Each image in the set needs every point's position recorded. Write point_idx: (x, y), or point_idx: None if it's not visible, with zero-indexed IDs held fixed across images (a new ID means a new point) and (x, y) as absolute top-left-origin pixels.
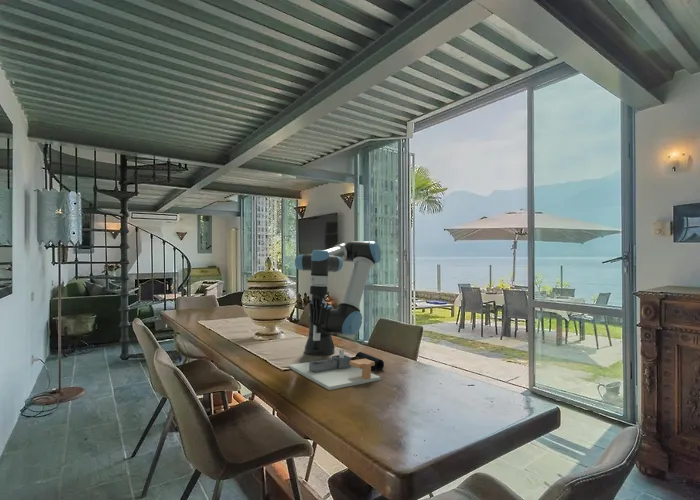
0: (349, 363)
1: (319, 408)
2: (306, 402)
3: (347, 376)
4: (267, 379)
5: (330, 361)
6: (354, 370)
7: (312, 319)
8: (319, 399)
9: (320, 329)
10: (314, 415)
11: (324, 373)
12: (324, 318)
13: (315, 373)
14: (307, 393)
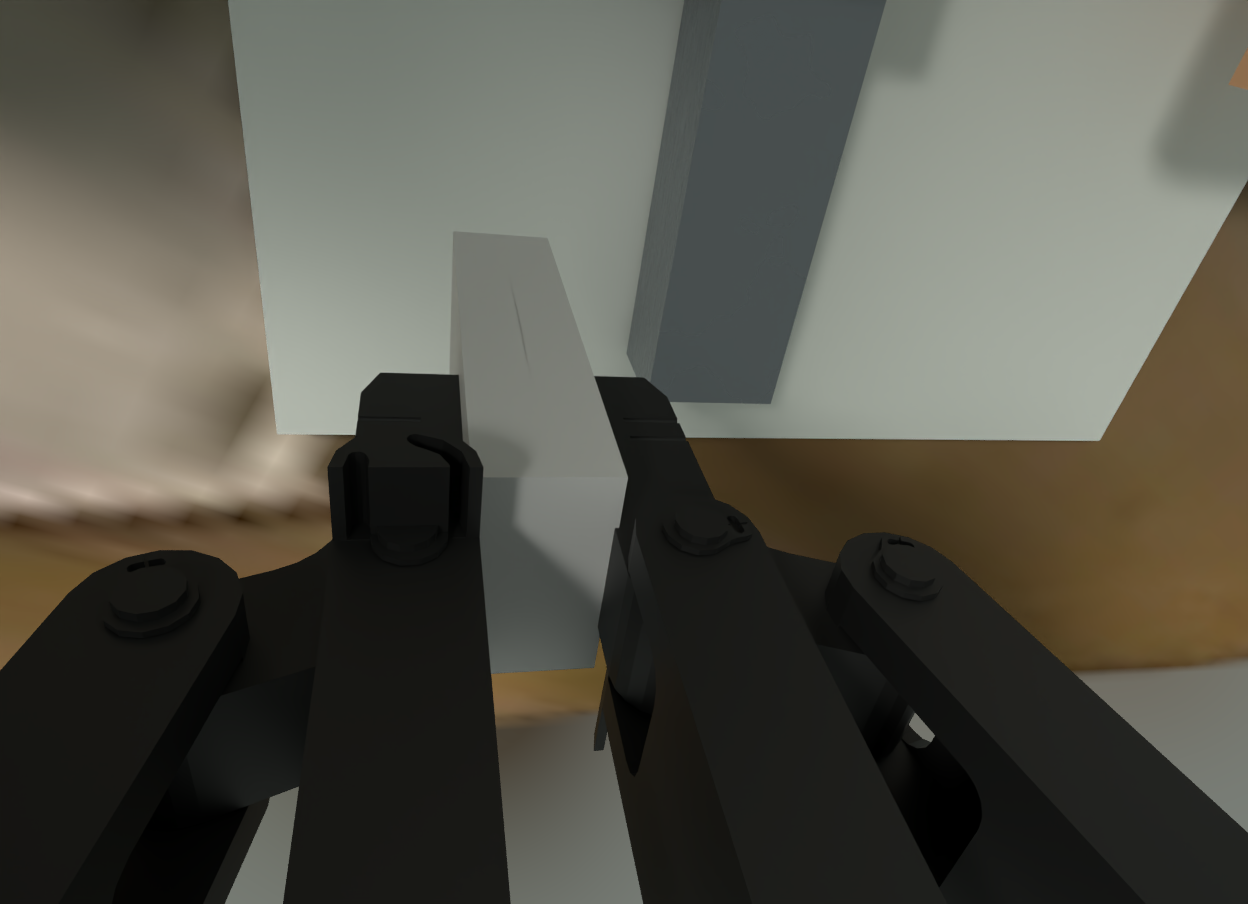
0: (1240, 87)
1: (1174, 605)
2: (1067, 625)
3: (1111, 99)
4: (545, 677)
5: (812, 115)
6: None
7: (235, 859)
8: (1109, 554)
9: (684, 448)
10: (1190, 652)
11: (833, 264)
12: (1150, 786)
13: None
14: (984, 569)
